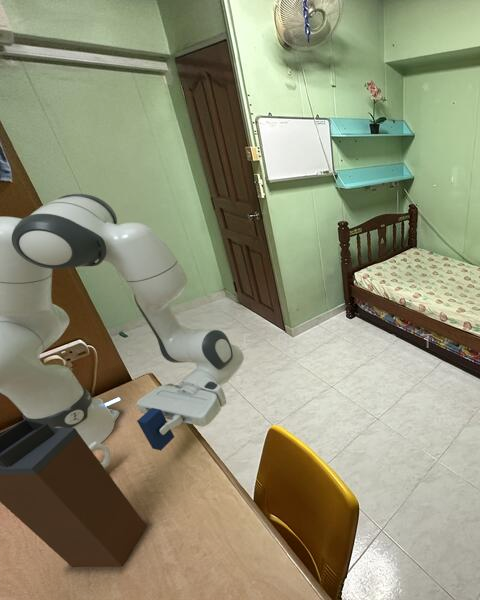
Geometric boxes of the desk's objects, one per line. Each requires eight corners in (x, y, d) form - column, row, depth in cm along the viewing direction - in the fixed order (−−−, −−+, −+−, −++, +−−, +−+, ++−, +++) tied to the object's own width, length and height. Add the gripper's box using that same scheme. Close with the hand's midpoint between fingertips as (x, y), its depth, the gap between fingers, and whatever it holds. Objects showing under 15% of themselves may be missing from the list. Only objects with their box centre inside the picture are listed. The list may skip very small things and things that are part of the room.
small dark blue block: (152, 448, 76) (136, 420, 71) (166, 434, 80) (152, 407, 75) (161, 450, 76) (145, 423, 71) (174, 436, 79) (160, 409, 74)
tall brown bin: (71, 567, 62) (-49, 458, 45) (101, 526, 68) (5, 417, 51) (122, 566, 62) (21, 458, 45) (147, 526, 69) (67, 417, 52)
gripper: (161, 374, 86) (111, 413, 75) (226, 387, 83) (184, 430, 71) (168, 391, 89) (122, 431, 78) (231, 404, 86) (192, 448, 74)
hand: (152, 430), depth 74 cm, fingers closed on small dark blue block, 2 cm apart
